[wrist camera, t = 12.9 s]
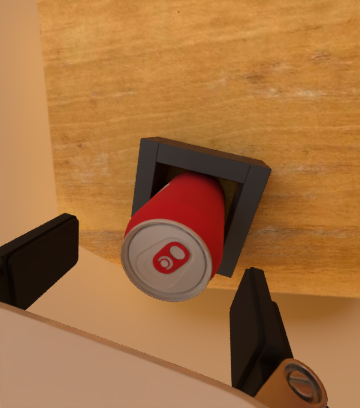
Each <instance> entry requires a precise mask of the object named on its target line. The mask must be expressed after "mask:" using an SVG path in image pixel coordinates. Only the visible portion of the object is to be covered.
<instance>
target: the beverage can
mask: <svg viewBox="0 0 360 408" xmlns="http://www.w3.org/2000/svg"><path fill="white" fill-rule="evenodd" d="M224 213H225V195H224V191H223V188H222V186H221V185H220V183H219V182H218V181H217V180H216V179H215V178H214V177H213V176H211V175H207V174H203V173H199V172H195V171H191V170H190V171H185V172H183V173H181V174H179V175H177V176H176V177H175V178H174V179H173V180H171V181H170V182H169V183H168V184H167V185H166V186H165V187H164V188H163V189H161V190H160V191H159V192H158V193H157V194H156V195H155V196H154V197H153V198H151V199H150V200H149V201H148V202H147V203H146V204H145V205H144V206H143V207H141V208H140V209H139V210H138V211H137V212H136V213H135V214H134V215H133V217H132V218H131V220H130V221H129V223H128V225H127V228H126V231H125V235H124V241H123V243H122V247H121V262H122V266H123V269H124V271H125V273H126V275H127V276H128V278H129V279H130V281H131V282H132V283H133V284H134V285H135V286H136V287H137V288H138V289H140V290H141V291H142V292H144V293H145V294H147V295H149V296H151V297H153V298H156V299H159V300H163V301H169V302H178V301H185V300H188V299H191V298H193V297H195V296H197V295H198V294H200V293H201V292H202V291H203V290H204V289H205V288H206V286H207V284H208V283H209V281H210V280H211V279H212V278H213V277H214V275H215V274H216V273H217V271H218V269H219V267H220V264H221V261H222V257H223V238H224Z"/></svg>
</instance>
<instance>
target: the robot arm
mask: <svg viewBox="0 0 360 408" xmlns="http://www.w3.org/2000/svg"><path fill="white" fill-rule="evenodd" d="M78 245H79V221H78V219H77V218H76V216H74V215H71V214H67V213H64V214H62V215H60V216H58V217H56V218H54V219H52V220H50V221H48V222H46V223H44V224H43V225H41V226H39V227H37V228H35V229H33V230H31V231H29V232H27V233H26V234H24V235H22V236H20V237H18V238H16V239H14V240H13V241H11V242H8V243H7V244H5V245H3V246H1V247H0V408H329V407H328V406H327V401H328V398H327V393H326V390H325V388H324V386H323V384H322V382H321V381H320V379H319V378H318V376H317V375H316V374H315V373H314V372H313V371H312V370H311V369H310V368H309V367H308V366H306V365H305V364H304V363H302V362H300V361H298V360H296V359H294V358H293V354H292V352H291V348H290V345H289V341H288V338H287V335H286V332H285V328H284V325H283V322H282V318H281V315H280V312H279V308H278V305H277V304H276V303H275V302H273V301H272V300H271V296H270V293H269V289H268V285H267V282H266V278H265V275H264V271H263V270H261V269H257V268H254V267H251V268H250V269H246V270H245V272H244V275H243V277H242V280H241V282H240V285H239V287H238V290H237V292H236V295H235V297H234V300H233V302H232V305H231V308H230V347H231V381H232V387H231V386H229V385H226V384H224V383H222V382H220V381H217V380H215V379H212V378H210V377H207V376H204V375H202V374H199V373H197V372H194V371H191V370H189V369H186V368H184V367H181V366H178V365H176V364H173V363H170V362H167V361H164V360H162V359H159V358H156V357H154V356H151V355H148V354H146V353H143V352H140V351H137V350H134V349H132V348H129V347H126V346H123V345H120V344H118V343H115V342H112V341H110V340H107V339H104V338H101V337H99V336H96V335H93V334H90V333H87V332H85V331H81V330H79V329H76V328H73V327H70V326H68V325H65V324H62V323H59V322H56V321H54V320H51V319H48V318H45V317H42V316H39V315H36V314H33V313H31V312H28V311H25V310H26V309H27V308H28V307H30V306H31V305H32V304H33V303H34V302H35V301H36V300H37V299H38V298H39V297H41V296H42V295H43V294H44V293H45V292H46V291H47V290H48V289H49V288H50V287H51V286H53V285H54V284H55V283H56V282H57V281H58V280H59V279H60V278H61V277H62V276H63V275H64V274H66V273H67V272H68V271H69V270H70V269H71V268H72V267H73V266H74V265H75V264H76V263H77V261H78Z"/></svg>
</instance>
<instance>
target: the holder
mask: <svg viewBox="0 0 360 408" xmlns="http://www.w3.org/2000/svg"><path fill="white" fill-rule="evenodd" d="M168 165H171V166H175V167H179V168H183V169H187V170H191V171H195V172H199V173H203V174H207V175H211V176H215V177H219V178H223V179H227V180H231V181H235V182H238V184H237V188H236V191H235V194H234V197H233V200H232V203H231V206H230V210H229V213H228V216H227V219H226V222H225V225H224V238H223V257H222V261H221V264H220V267H219V269H218V271H217V274H220V275H223V276H226V277H230V278H231V277H232V274H233V272H234V269H235V266H236V264H237V261H238V258H239V256H240V253H241V250H242V248H243V245H244V242H245V240H246V237H247V234H248V232H249V229H250V226H251V224H252V221H253V218H254V216H255V213H256V210H257V208H258V205H259V202H260V200H261V197H262V194H263V191H264V189H265V186H266V183H267V181H268V178H269V175H270V173H271V168H270V167H269V166H267V165H266V164H265V163H264V162H263V161H260V160H256V159H252V158H248V157H247V158H246V157H243V156H239V155H235V154H230V153H226V152H222V151H217V150H213V149H209V148H204V147H200V146H196V145H191V144H187V143H183V142H178V141H174V140H170V139H166V138H161V137H151V138H141V141H140V149H139V158H138V166H137V174H136V182H135V190H134V198H133V207H132V215H131V218H132V217H133V215H134V214H135V213H136V212H137V211H138V210H139V209H140V208H141V207H143V206H144V205H145V204H146V203H147V202H148V201H149V200H150V199H151V198H153V197H154V196H155V195H156V194H157V193H158V192H159V191H160V190H161V189H163V188H164V186H165V181H166V175H167V170H168Z"/></svg>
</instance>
